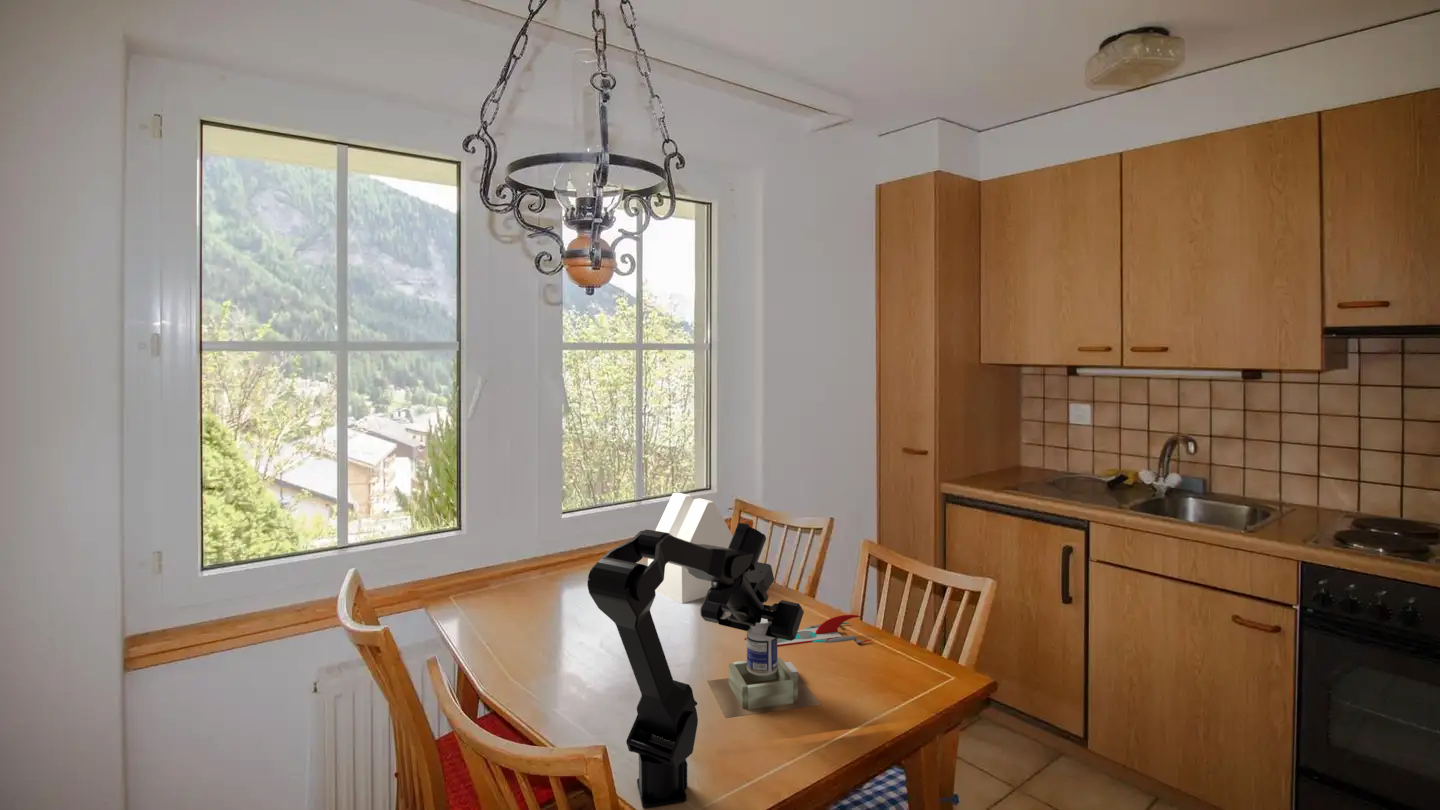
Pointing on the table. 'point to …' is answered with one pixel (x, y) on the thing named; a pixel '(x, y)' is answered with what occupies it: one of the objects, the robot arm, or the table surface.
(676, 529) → the white sloped block
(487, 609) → the table surface
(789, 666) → the block
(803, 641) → the toy spaceship
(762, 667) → the pill bottle
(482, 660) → the table surface
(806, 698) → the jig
